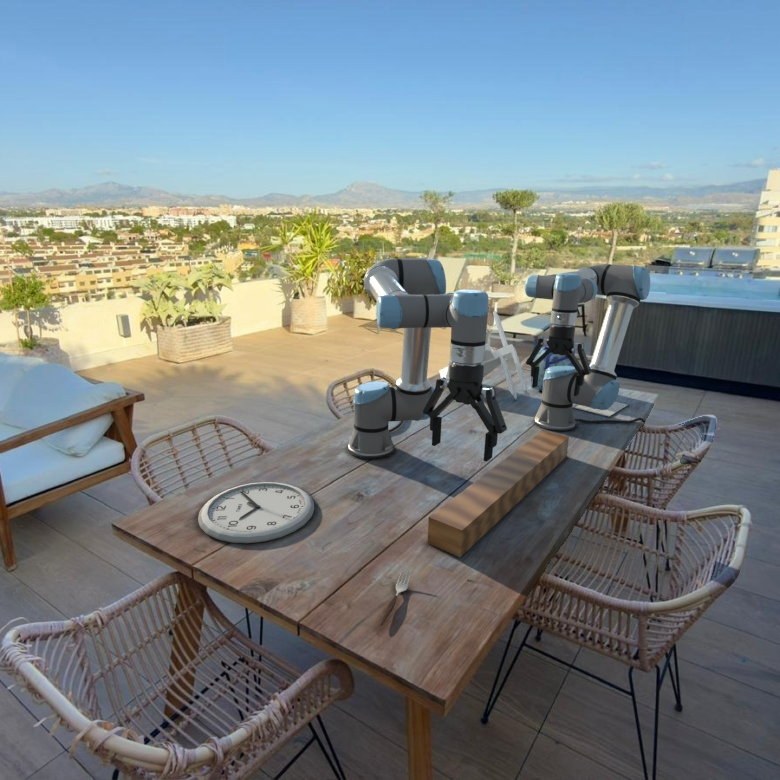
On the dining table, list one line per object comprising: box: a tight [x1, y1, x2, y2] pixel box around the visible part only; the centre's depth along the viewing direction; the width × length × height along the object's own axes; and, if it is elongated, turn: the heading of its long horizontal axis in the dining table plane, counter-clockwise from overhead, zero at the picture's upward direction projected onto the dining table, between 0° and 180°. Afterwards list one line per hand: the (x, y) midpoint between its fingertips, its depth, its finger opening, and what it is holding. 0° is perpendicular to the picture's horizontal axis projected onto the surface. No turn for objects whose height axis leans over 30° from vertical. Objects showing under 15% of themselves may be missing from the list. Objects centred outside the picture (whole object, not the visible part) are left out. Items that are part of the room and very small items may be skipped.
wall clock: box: [197, 481, 315, 544], centre depth 139 cm, size 30×2×30 cm
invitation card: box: [573, 401, 629, 418], centre depth 226 cm, size 21×1×15 cm
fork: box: [379, 570, 413, 627], centre depth 106 cm, size 3×16×2 cm, turn 160°
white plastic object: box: [438, 310, 531, 400], centre depth 245 cm, size 37×45×31 cm
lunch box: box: [530, 345, 576, 391], centre depth 249 cm, size 26×11×21 cm, turn 134°
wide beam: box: [426, 430, 570, 558], centre depth 150 cm, size 72×9×7 cm, turn 143°
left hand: (461, 451), depth 121 cm, fingers open, 13 cm apart
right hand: (555, 390), depth 167 cm, fingers open, 13 cm apart
